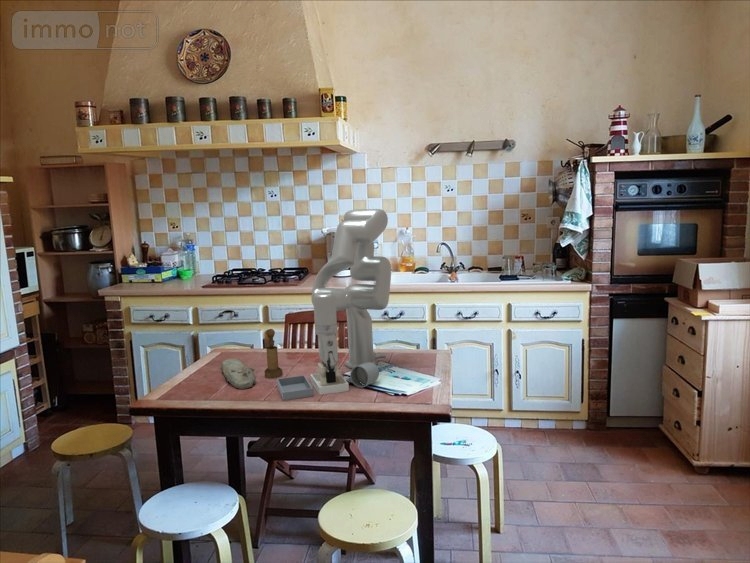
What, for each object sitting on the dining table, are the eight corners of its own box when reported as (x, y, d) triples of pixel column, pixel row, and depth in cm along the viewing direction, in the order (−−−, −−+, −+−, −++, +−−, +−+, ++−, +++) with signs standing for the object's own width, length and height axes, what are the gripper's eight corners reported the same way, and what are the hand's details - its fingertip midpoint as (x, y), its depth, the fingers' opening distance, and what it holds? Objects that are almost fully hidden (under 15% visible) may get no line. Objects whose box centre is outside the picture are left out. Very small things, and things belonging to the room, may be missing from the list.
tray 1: (305, 383, 198) (304, 375, 198) (313, 397, 184) (313, 388, 184) (277, 387, 195) (276, 378, 195) (283, 401, 181) (282, 392, 181)
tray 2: (338, 378, 202) (337, 370, 201) (348, 391, 188) (348, 383, 187) (310, 382, 199) (310, 374, 198) (319, 396, 185) (319, 387, 184)
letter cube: (335, 377, 197) (334, 360, 196) (339, 382, 191) (338, 365, 190) (318, 379, 195) (317, 362, 194) (322, 385, 189) (321, 367, 188)
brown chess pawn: (278, 379, 203) (275, 331, 201) (261, 379, 205) (258, 331, 202) (285, 373, 210) (281, 327, 207) (268, 373, 211) (265, 327, 208)
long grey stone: (242, 366, 227) (217, 371, 223) (240, 353, 227) (215, 358, 223) (262, 386, 196) (233, 393, 192) (260, 372, 195) (231, 378, 191)
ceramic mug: (381, 382, 196) (380, 360, 195) (369, 389, 189) (367, 367, 188) (356, 378, 202) (354, 357, 201) (343, 385, 195) (341, 364, 194)
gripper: (343, 333, 183) (345, 385, 186) (331, 322, 199) (333, 371, 202) (320, 335, 181) (323, 389, 184) (310, 324, 197) (313, 373, 200)
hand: (328, 379), depth 193 cm, fingers closed on letter cube, 5 cm apart
